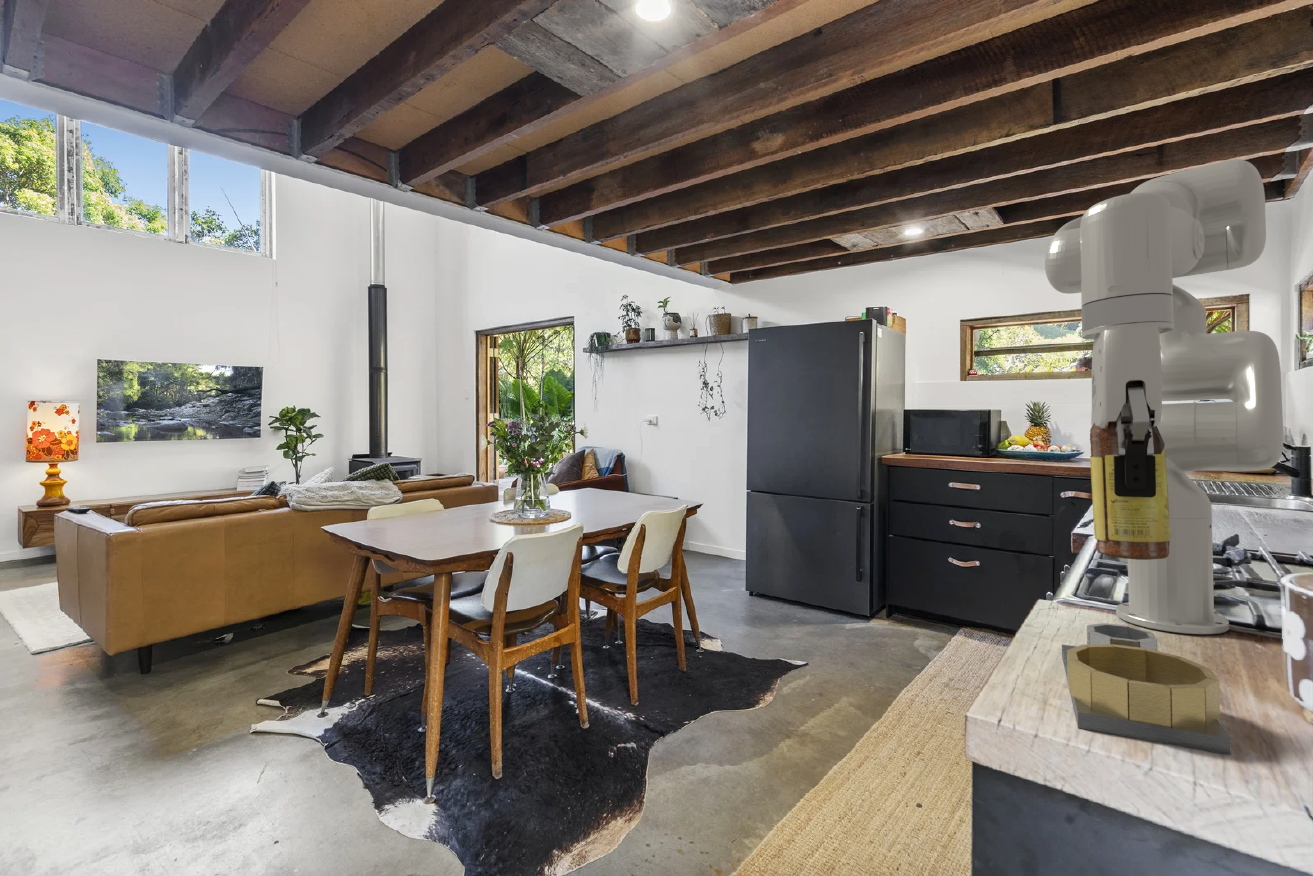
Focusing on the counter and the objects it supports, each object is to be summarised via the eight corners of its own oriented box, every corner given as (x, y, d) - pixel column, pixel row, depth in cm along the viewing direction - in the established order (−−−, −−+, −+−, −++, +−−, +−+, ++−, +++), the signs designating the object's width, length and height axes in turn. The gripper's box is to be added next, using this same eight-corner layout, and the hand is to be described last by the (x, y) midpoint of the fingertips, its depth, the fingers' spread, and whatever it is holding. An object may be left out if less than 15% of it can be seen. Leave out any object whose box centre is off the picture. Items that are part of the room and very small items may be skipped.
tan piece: (1059, 656, 77) (1058, 616, 77) (1178, 672, 71) (1177, 629, 71) (1074, 727, 59) (1073, 675, 59) (1235, 756, 53) (1234, 698, 53)
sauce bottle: (1187, 560, 61) (1183, 359, 61) (1135, 564, 60) (1132, 359, 60) (1124, 548, 67) (1121, 367, 67) (1076, 551, 66) (1073, 367, 66)
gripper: (1075, 335, 73) (1077, 486, 73) (1090, 310, 58) (1094, 500, 58) (1155, 328, 69) (1158, 488, 69) (1194, 299, 54) (1198, 503, 54)
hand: (1129, 492), depth 63 cm, fingers closed on sauce bottle, 6 cm apart
